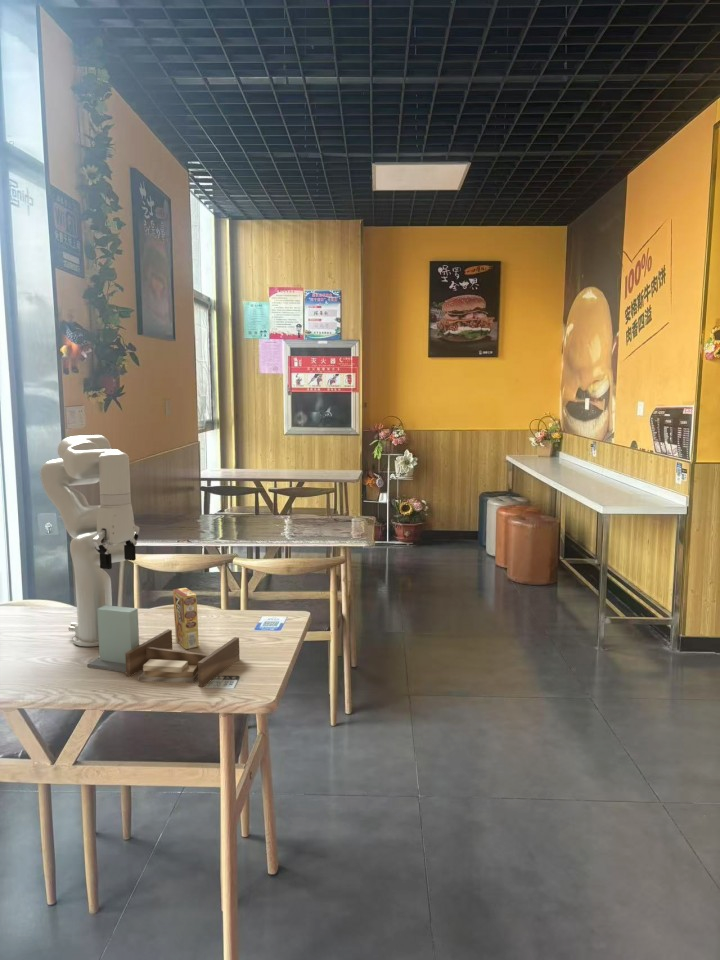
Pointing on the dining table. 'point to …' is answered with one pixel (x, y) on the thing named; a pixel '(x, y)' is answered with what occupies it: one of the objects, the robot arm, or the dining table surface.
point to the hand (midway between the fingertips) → (118, 564)
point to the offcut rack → (183, 656)
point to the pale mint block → (117, 632)
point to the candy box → (186, 618)
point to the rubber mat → (107, 665)
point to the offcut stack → (169, 671)
